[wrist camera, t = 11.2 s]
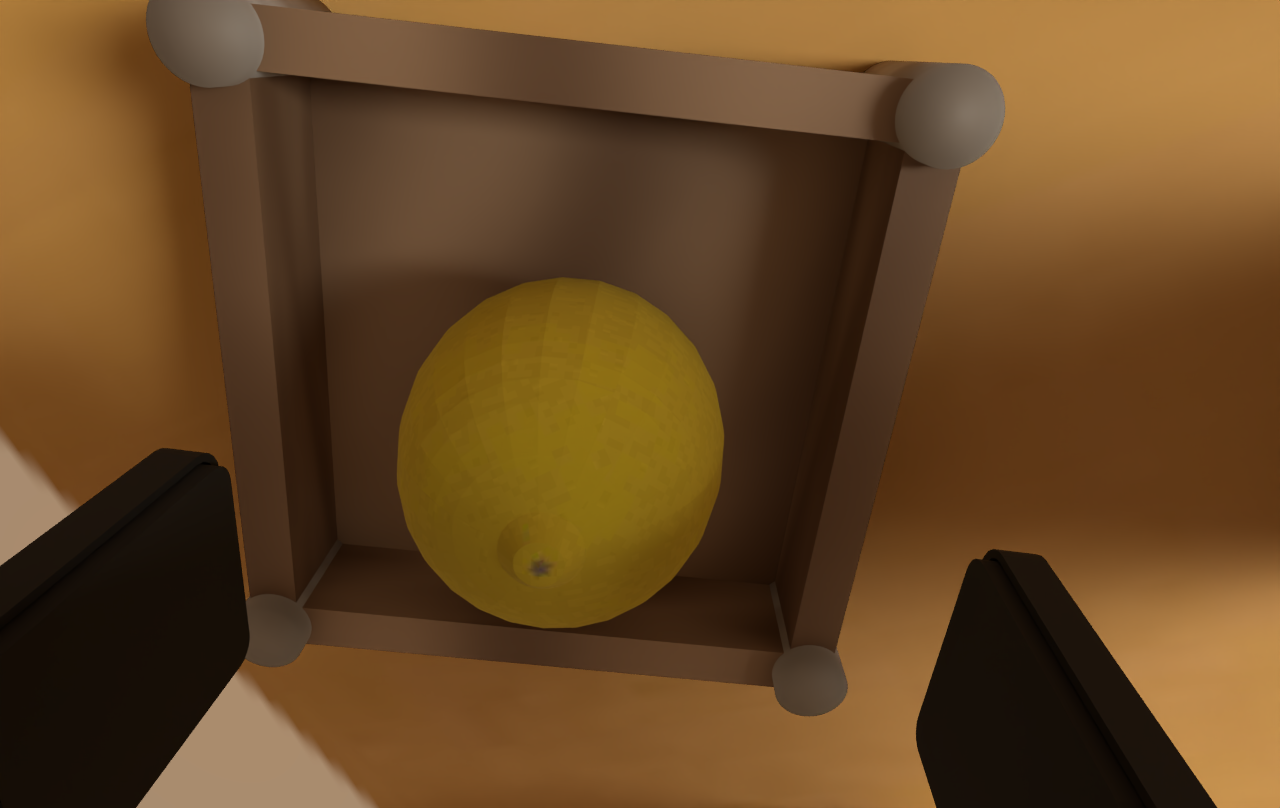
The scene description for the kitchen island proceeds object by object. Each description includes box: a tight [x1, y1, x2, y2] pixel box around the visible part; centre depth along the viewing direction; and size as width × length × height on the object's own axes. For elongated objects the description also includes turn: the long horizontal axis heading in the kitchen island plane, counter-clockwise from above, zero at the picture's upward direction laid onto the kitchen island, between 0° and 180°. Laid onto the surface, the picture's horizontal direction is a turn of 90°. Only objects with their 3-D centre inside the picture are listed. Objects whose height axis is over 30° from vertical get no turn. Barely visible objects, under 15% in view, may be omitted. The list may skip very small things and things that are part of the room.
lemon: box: [397, 277, 724, 628], centre depth 14 cm, size 6×6×8 cm
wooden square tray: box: [146, 0, 1005, 716], centre depth 17 cm, size 14×14×4 cm
